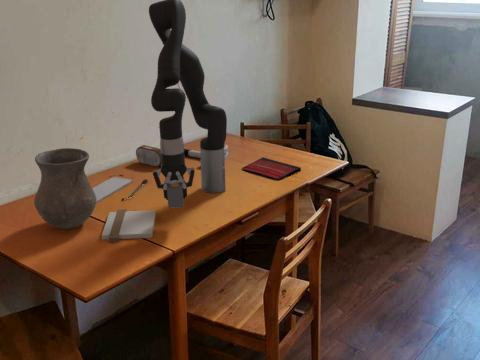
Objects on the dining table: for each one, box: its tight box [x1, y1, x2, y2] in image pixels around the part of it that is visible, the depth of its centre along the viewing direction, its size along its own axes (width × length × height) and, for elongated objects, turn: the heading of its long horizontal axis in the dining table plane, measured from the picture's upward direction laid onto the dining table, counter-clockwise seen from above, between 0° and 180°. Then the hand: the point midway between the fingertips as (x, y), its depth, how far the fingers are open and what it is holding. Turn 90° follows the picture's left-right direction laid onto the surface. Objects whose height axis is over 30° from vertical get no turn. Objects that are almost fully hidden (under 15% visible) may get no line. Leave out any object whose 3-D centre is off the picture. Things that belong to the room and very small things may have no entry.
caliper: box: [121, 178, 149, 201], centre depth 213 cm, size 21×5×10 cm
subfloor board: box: [101, 208, 157, 243], centre depth 184 cm, size 16×22×2 cm
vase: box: [33, 147, 97, 231], centre depth 182 cm, size 20×19×25 cm
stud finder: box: [167, 180, 185, 209], centre depth 181 cm, size 5×8×7 cm, turn 5°
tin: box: [135, 144, 162, 168], centre depth 241 cm, size 15×3×8 cm, turn 58°
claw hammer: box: [184, 144, 229, 165], centre depth 253 cm, size 6×22×30 cm
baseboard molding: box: [92, 174, 134, 204], centre depth 212 cm, size 31×3×12 cm
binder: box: [241, 156, 302, 181], centre depth 235 cm, size 16×2×21 cm
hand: (175, 198), depth 182 cm, fingers closed on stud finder, 5 cm apart
